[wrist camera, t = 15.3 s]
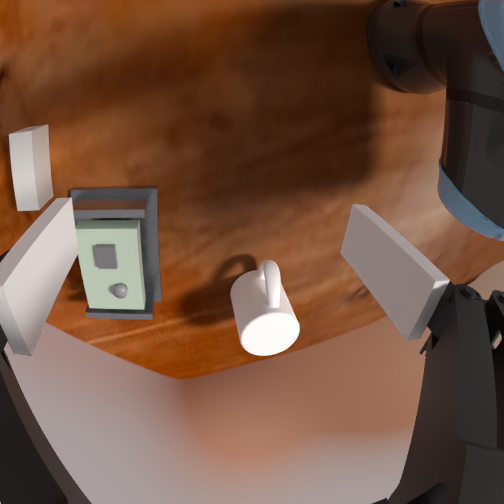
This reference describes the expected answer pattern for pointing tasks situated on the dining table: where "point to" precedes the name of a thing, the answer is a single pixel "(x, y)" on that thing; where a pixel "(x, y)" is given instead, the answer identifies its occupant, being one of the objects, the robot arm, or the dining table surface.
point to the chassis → (146, 210)
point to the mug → (263, 311)
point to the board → (111, 263)
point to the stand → (31, 167)
